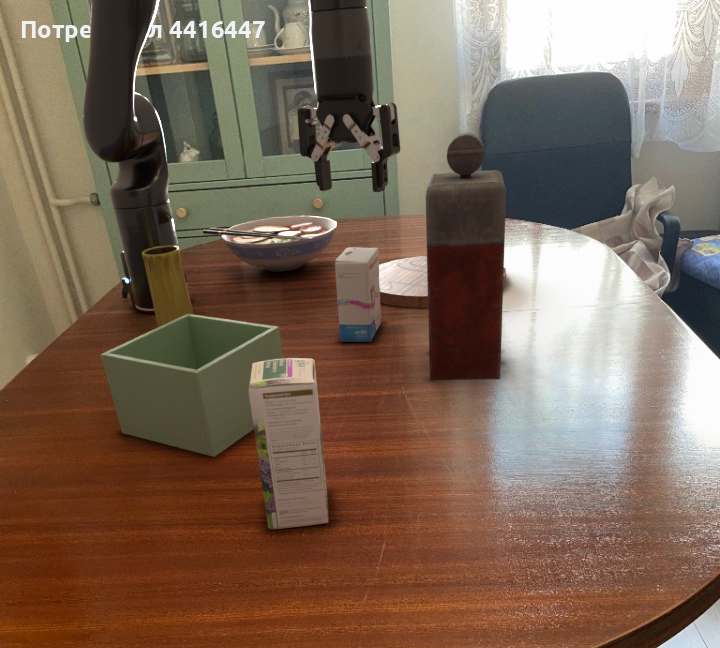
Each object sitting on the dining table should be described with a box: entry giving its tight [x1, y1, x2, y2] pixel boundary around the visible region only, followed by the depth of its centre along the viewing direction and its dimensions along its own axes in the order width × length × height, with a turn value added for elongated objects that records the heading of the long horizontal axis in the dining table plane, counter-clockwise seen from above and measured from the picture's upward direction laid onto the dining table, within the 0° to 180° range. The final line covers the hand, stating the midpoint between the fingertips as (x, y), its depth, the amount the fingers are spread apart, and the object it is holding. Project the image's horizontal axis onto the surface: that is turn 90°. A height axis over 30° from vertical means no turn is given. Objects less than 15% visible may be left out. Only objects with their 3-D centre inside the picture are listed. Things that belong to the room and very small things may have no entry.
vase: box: [142, 245, 195, 328], centre depth 107 cm, size 6×6×14 cm
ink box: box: [334, 246, 382, 343], centre depth 107 cm, size 8×5×12 cm, turn 168°
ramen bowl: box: [202, 215, 338, 273], centre depth 143 cm, size 25×23×8 cm
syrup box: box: [248, 357, 330, 530], centre depth 66 cm, size 6×6×14 cm
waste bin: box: [100, 313, 284, 458], centre depth 86 cm, size 14×14×10 cm
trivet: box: [379, 254, 507, 309], centre depth 127 cm, size 25×25×2 cm
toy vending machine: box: [425, 132, 507, 381], centre depth 90 cm, size 9×11×28 cm
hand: (351, 190), depth 99 cm, fingers open, 8 cm apart
